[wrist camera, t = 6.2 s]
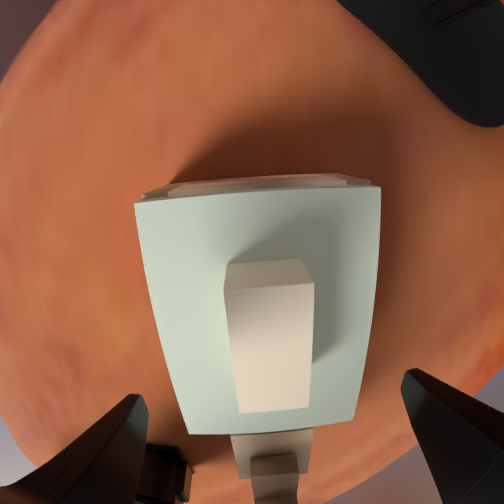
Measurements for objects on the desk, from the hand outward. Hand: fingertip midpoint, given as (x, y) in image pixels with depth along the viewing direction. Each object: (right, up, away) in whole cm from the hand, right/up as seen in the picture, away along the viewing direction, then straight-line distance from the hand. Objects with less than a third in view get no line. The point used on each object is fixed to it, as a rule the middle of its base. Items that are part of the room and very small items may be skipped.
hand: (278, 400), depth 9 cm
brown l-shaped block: (+1, -12, +8) cm, 14 cm away
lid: (0, +1, +6) cm, 6 cm away
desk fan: (+14, +24, +4) cm, 28 cm away
